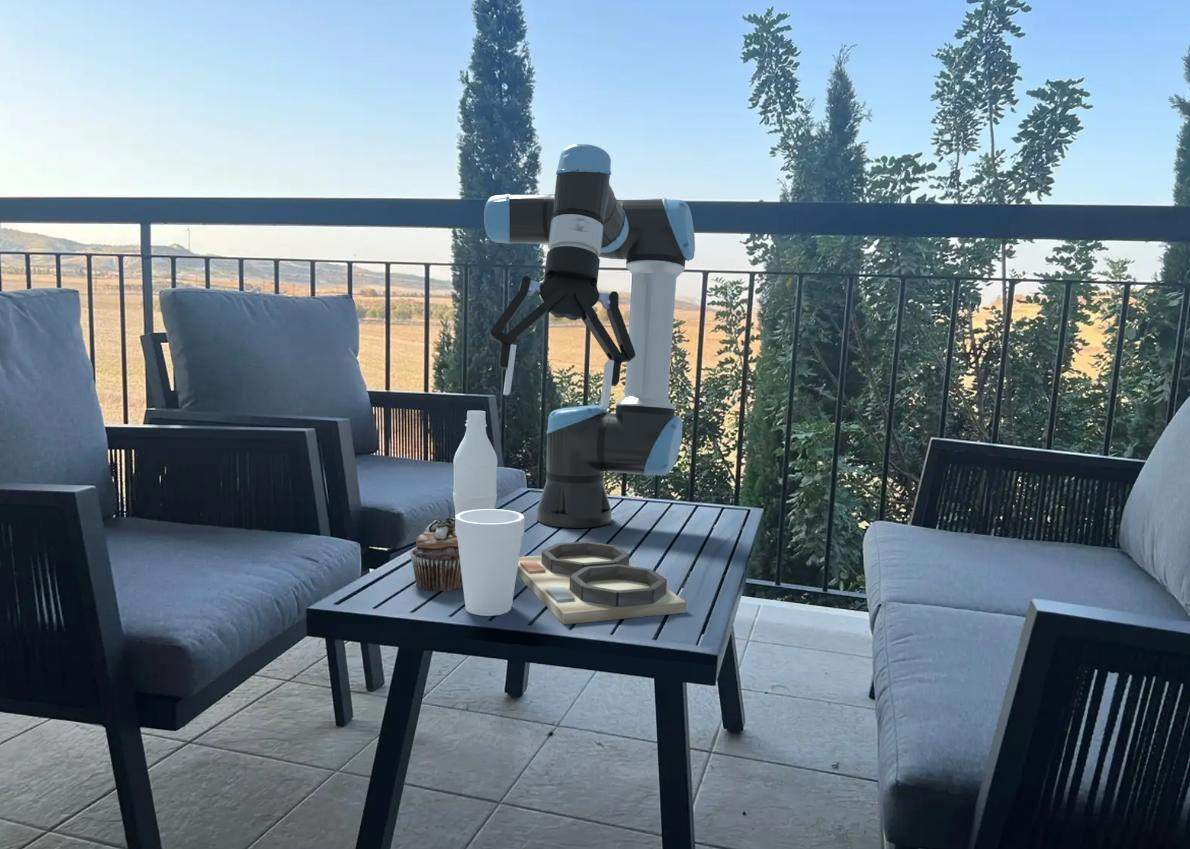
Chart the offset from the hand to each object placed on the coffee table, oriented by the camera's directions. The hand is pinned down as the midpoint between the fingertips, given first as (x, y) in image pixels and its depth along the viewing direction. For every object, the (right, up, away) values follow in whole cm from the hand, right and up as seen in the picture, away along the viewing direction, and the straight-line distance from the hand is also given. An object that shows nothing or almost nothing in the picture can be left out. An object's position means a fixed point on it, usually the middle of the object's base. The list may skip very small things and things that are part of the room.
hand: (555, 400), depth 117 cm
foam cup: (-9, -29, +2) cm, 31 cm away
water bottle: (-15, -26, +24) cm, 38 cm away
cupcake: (-18, -27, +12) cm, 35 cm away
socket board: (+5, -28, +12) cm, 31 cm away
